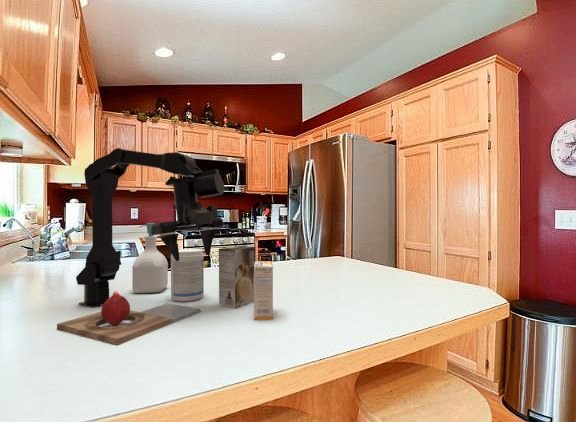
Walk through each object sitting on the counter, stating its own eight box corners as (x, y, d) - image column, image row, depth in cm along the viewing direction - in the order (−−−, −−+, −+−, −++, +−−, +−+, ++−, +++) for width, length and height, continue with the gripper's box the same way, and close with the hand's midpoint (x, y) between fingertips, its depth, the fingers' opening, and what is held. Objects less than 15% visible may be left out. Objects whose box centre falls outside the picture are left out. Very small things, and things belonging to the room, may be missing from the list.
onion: (135, 323, 75) (135, 289, 75) (115, 332, 70) (115, 295, 70) (116, 320, 77) (116, 287, 77) (94, 329, 71) (95, 292, 72)
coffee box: (239, 298, 98) (239, 245, 98) (256, 301, 95) (256, 246, 95) (217, 305, 90) (218, 248, 90) (235, 309, 87) (235, 249, 87)
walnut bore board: (56, 329, 71) (56, 323, 71) (114, 312, 84) (114, 307, 84) (117, 345, 63) (117, 338, 63) (171, 323, 75) (171, 318, 75)
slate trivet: (129, 318, 79) (129, 315, 79) (166, 306, 89) (167, 303, 89) (165, 325, 73) (165, 322, 73) (200, 311, 84) (200, 308, 84)
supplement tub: (209, 298, 98) (209, 250, 98) (179, 304, 91) (179, 252, 91) (194, 292, 105) (194, 247, 105) (165, 298, 98) (165, 250, 98)
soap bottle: (140, 288, 112) (140, 222, 112) (169, 287, 113) (169, 222, 113) (130, 294, 102) (130, 223, 103) (161, 294, 103) (161, 223, 104)
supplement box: (253, 310, 86) (254, 261, 86) (271, 309, 86) (272, 260, 86) (253, 320, 77) (253, 265, 78) (273, 319, 78) (273, 265, 78)
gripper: (169, 196, 74) (177, 263, 73) (232, 194, 88) (239, 251, 88) (146, 203, 81) (154, 264, 81) (208, 200, 95) (215, 253, 95)
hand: (193, 257), depth 86 cm, fingers open, 9 cm apart
